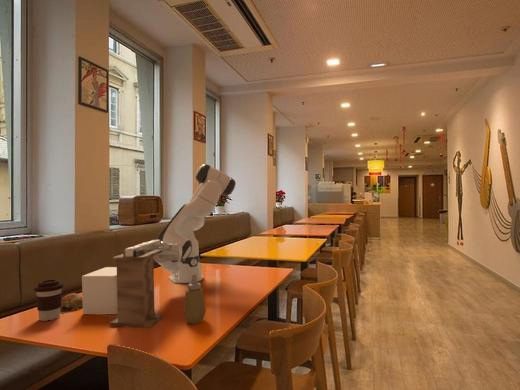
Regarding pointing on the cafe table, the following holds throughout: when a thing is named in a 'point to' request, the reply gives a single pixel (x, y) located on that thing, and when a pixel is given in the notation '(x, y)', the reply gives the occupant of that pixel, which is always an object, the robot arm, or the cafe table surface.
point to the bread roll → (71, 302)
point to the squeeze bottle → (194, 302)
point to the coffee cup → (49, 299)
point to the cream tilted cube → (100, 291)
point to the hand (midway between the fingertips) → (153, 243)
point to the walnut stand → (136, 290)
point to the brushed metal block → (142, 247)
